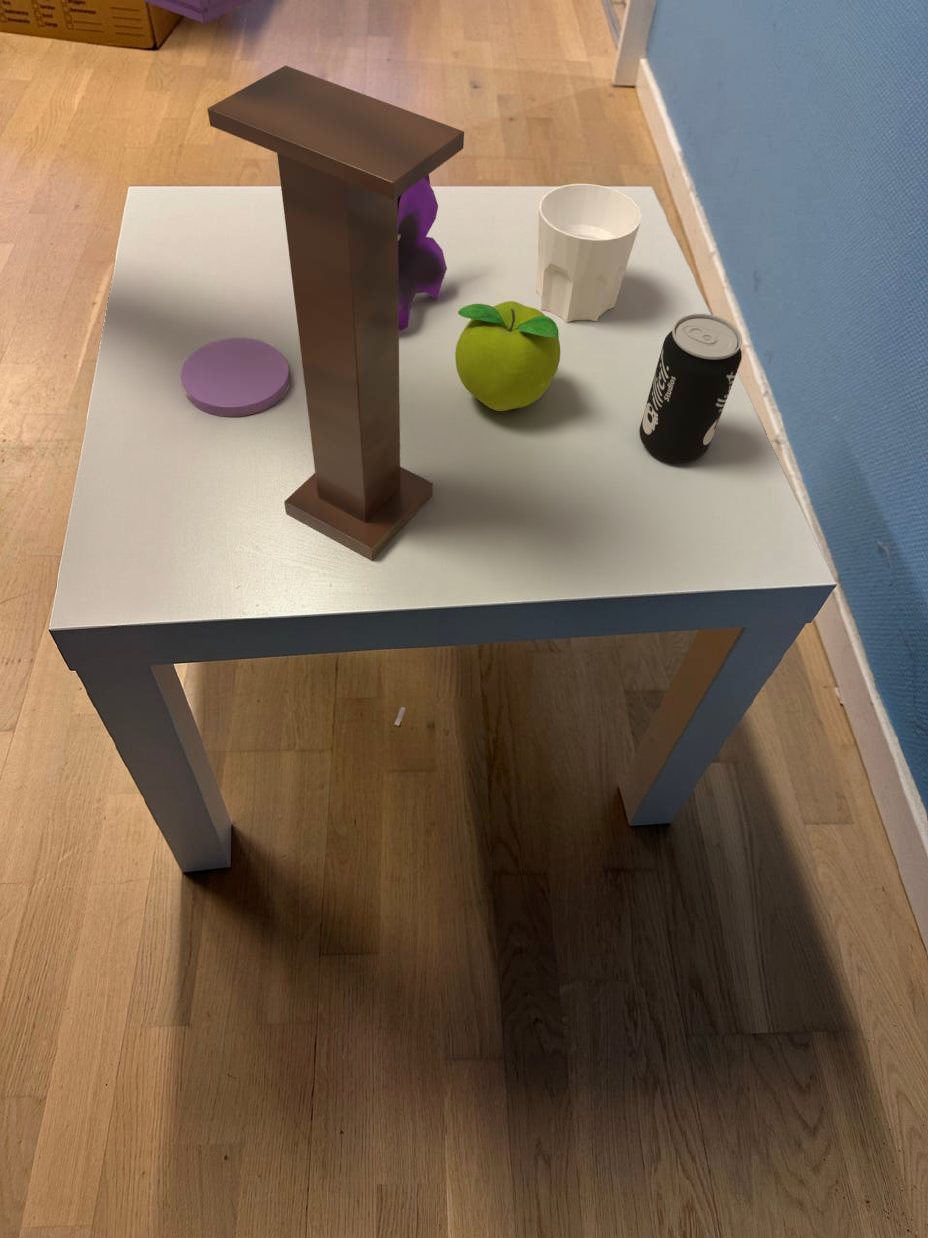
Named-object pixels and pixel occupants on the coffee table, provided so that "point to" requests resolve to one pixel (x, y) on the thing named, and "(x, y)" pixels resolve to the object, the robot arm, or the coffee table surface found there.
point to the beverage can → (690, 387)
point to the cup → (583, 249)
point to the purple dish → (200, 7)
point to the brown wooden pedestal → (345, 285)
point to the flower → (417, 248)
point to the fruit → (507, 354)
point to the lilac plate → (235, 377)
